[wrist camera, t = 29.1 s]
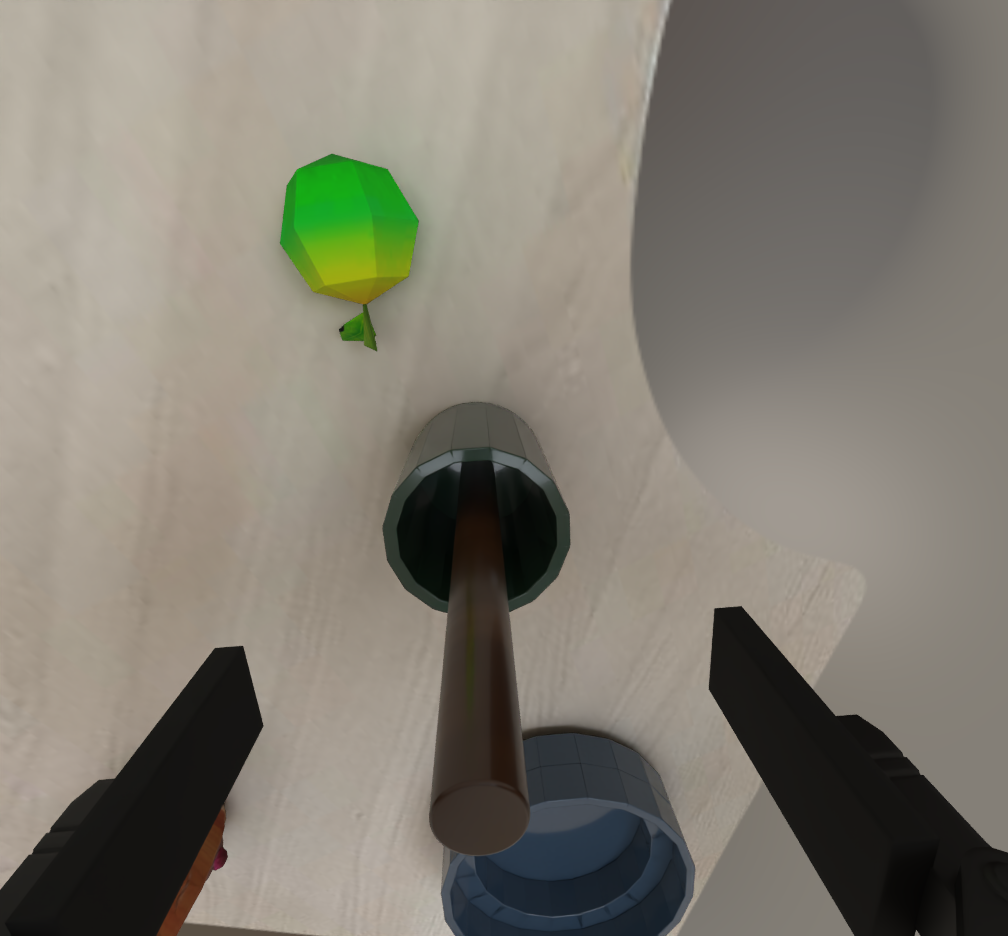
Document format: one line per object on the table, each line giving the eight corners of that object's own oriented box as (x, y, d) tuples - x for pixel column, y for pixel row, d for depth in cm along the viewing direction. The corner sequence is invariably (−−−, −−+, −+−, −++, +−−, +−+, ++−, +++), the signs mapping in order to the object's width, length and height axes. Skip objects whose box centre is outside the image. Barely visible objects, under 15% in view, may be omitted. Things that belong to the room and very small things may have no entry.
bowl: (668, 714, 39) (701, 787, 33) (660, 878, 44) (688, 964, 38) (436, 735, 38) (429, 812, 32) (457, 898, 43) (454, 988, 38)
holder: (539, 397, 31) (568, 441, 21) (544, 521, 33) (572, 610, 24) (404, 406, 30) (371, 455, 21) (419, 531, 33) (396, 624, 23)
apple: (290, 120, 19) (354, 360, 22) (426, 132, 23) (466, 334, 26) (233, 177, 25) (290, 367, 27) (352, 179, 29) (391, 344, 31)
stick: (493, 453, 31) (528, 777, 10) (495, 484, 31) (533, 853, 11) (459, 455, 31) (423, 787, 10) (462, 487, 31) (434, 863, 10)
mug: (193, 864, 41) (41, 1169, 26) (99, 814, 39) (-122, 1114, 24) (310, 754, 38) (211, 1027, 24) (215, 693, 36) (44, 953, 22)
